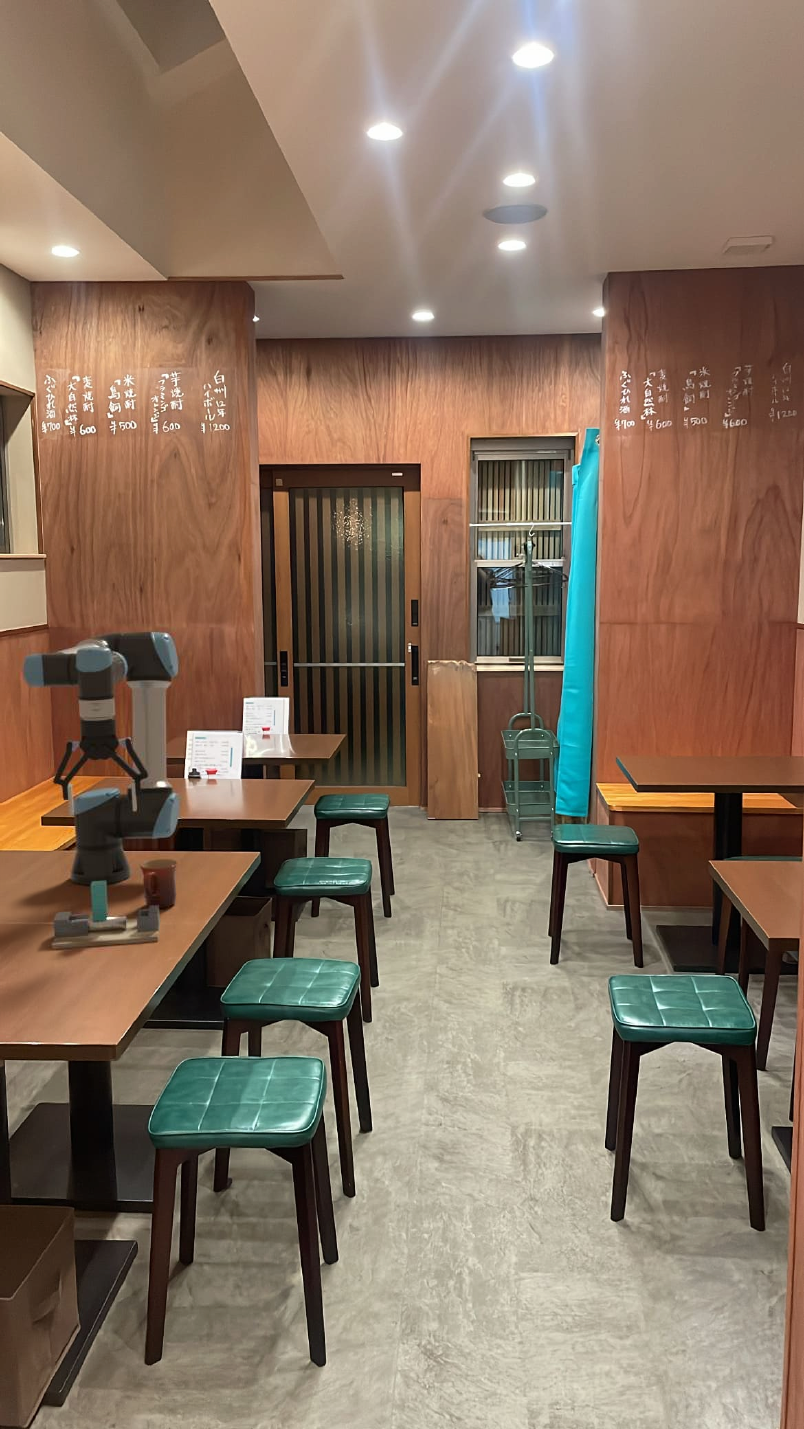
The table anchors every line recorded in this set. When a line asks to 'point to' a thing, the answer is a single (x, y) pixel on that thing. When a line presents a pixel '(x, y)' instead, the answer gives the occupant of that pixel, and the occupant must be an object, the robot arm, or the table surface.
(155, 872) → the mug
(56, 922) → the bracket
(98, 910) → the teal and grey t-piece
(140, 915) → the socket
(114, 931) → the board
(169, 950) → the table surface
